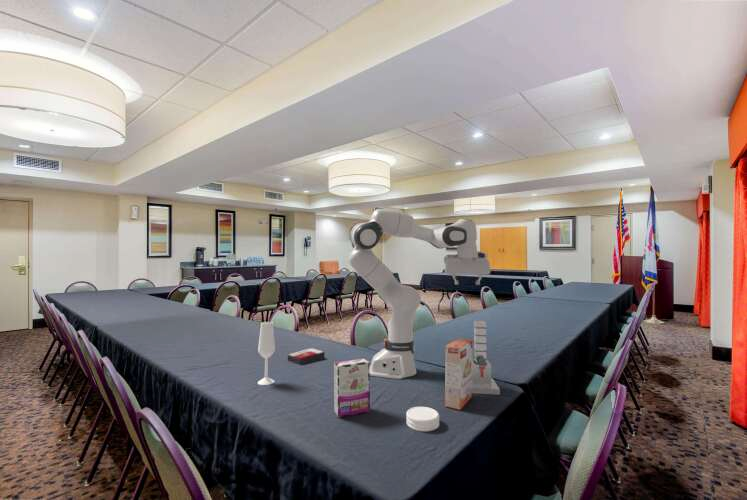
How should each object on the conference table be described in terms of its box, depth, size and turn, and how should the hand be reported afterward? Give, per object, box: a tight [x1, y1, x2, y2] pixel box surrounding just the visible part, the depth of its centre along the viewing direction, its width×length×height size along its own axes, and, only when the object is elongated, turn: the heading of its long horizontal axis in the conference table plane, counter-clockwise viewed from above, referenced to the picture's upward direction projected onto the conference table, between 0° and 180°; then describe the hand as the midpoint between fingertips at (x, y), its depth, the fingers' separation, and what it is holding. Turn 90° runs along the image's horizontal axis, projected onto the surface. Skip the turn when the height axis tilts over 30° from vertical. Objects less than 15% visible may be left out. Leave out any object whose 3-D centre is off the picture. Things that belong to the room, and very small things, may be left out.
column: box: [473, 320, 488, 364], centre depth 135 cm, size 4×4×20 cm
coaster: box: [405, 406, 440, 432], centre depth 105 cm, size 10×10×4 cm
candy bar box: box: [333, 358, 371, 418], centre depth 113 cm, size 11×5×16 cm, turn 113°
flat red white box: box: [287, 347, 325, 366], centre depth 173 cm, size 11×4×15 cm
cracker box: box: [444, 338, 474, 411], centre depth 121 cm, size 14×6×21 cm, turn 148°
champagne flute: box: [257, 321, 276, 386], centre depth 141 cm, size 7×7×24 cm
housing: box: [472, 358, 501, 396], centre depth 135 cm, size 12×12×12 cm
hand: (467, 284), depth 157 cm, fingers open, 8 cm apart
